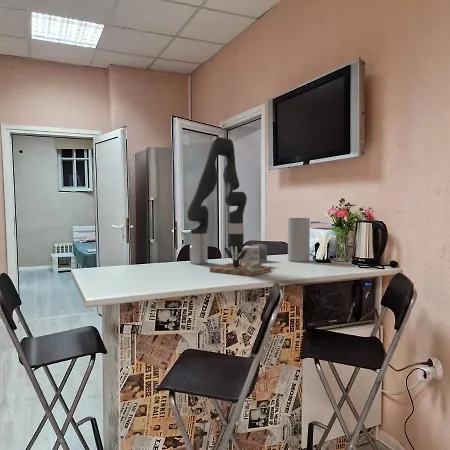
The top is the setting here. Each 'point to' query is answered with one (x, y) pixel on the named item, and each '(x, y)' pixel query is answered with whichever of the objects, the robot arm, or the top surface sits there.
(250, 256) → the light bulb box
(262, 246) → the cassette player
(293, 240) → the cylinder vase
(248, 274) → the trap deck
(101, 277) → the top surface
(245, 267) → the birch block
